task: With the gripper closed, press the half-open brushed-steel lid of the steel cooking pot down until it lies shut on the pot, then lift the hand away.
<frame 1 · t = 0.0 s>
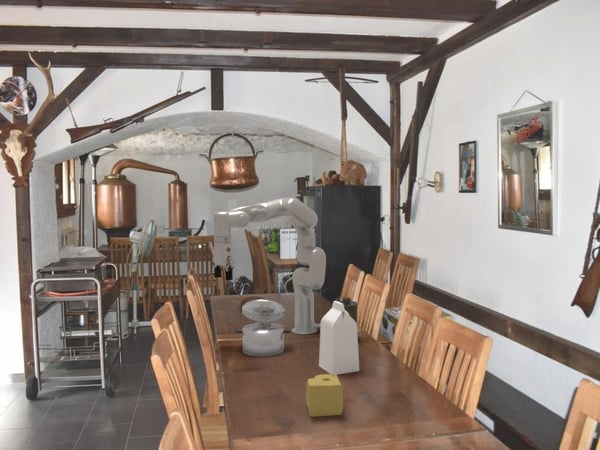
hand: (223, 278, 236), 31 cm above the table, tool pointing down, fingers open, 9 cm apart
bread: (256, 313, 310), on the table
pot: (263, 350, 236), on the table
canister: (346, 340, 250), on the table
lid: (263, 309, 238), point 17 cm above the table, hinge at 40.0°
cheese: (324, 410, 171), on the table
milk: (338, 368, 210), on the table
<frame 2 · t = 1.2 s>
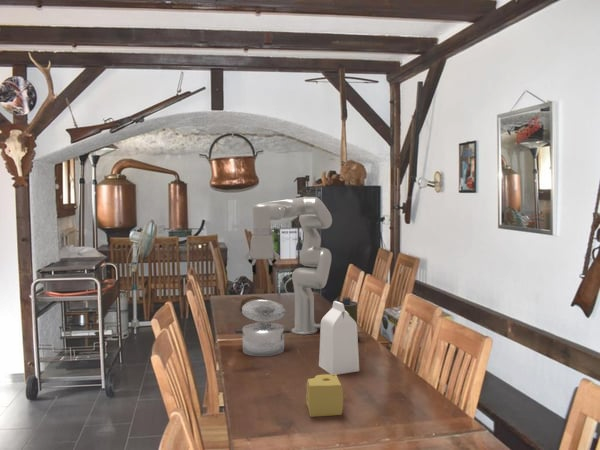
hand: (262, 273, 234), 34 cm above the table, tool pointing down, fingers open, 5 cm apart
nothing on the table moved.
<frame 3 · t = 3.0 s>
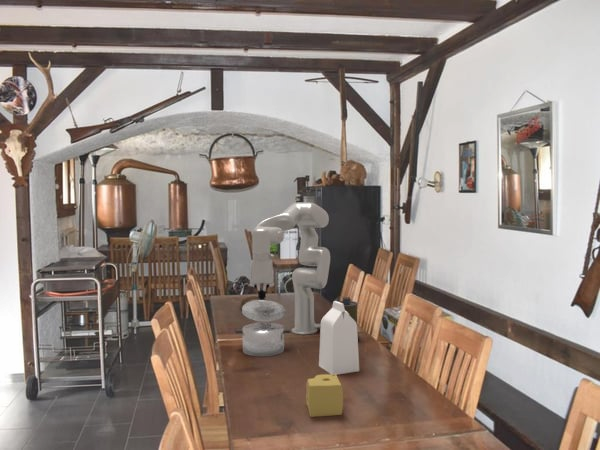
hand: (262, 299, 231), 23 cm above the table, tool pointing down, fingers closed
lid: (263, 309, 238), point 17 cm above the table, hinge at 40.0°, touching gripper
everything else where it was.
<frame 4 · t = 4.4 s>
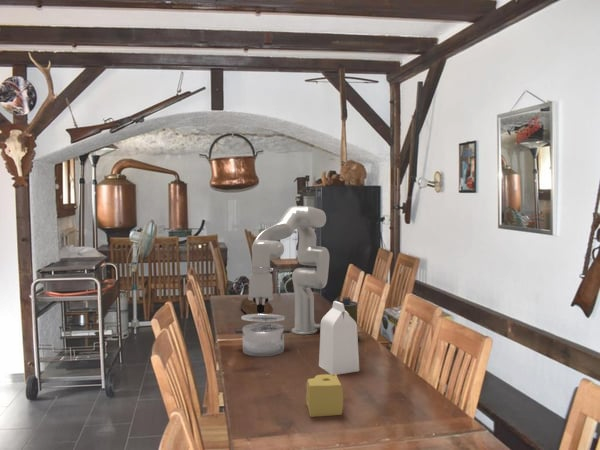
hand: (260, 313, 229), 17 cm above the table, tool pointing down, fingers closed
lid: (263, 315, 236), point 15 cm above the table, hinge at 20.6°, touching gripper
everything else where it was.
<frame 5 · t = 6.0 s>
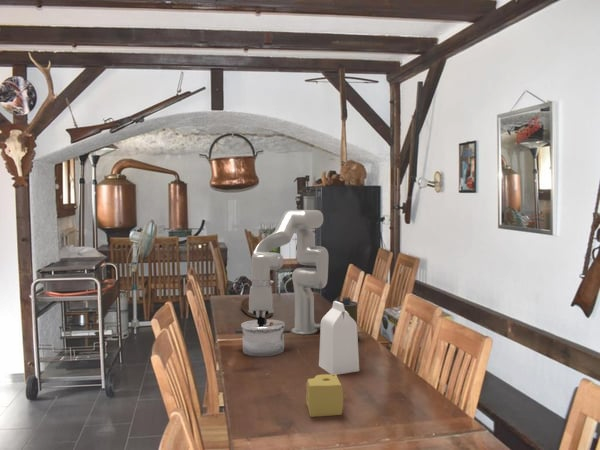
hand: (261, 326, 229), 12 cm above the table, tool pointing down, fingers closed
lid: (263, 322, 235), point 12 cm above the table, hinge at 2.9°, touching gripper
everything else where it was.
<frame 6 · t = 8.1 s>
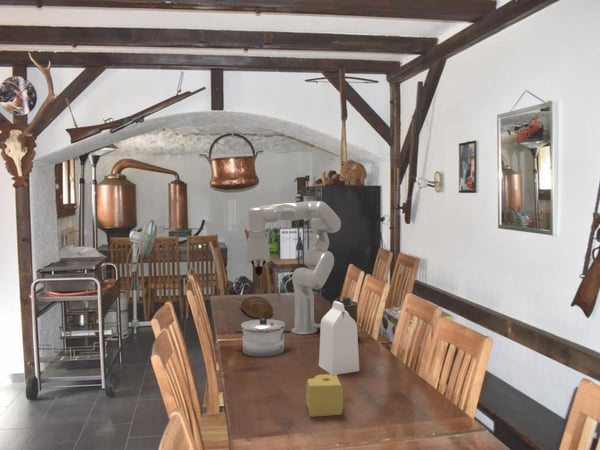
hand: (259, 275, 244), 31 cm above the table, tool pointing down, fingers closed
lid: (263, 322, 235), point 12 cm above the table, hinge at 2.7°
everything else where it was.
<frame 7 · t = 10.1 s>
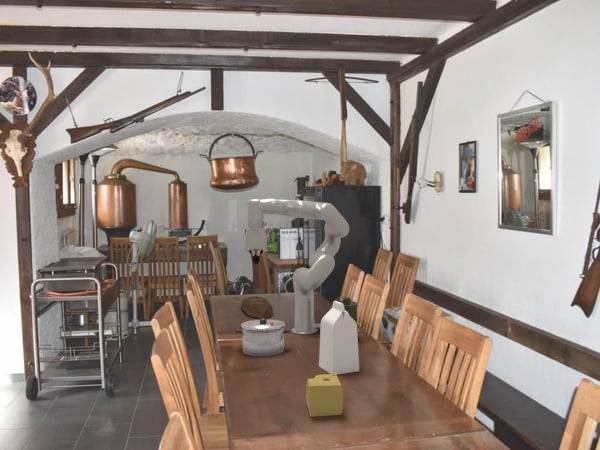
hand: (256, 263, 254), 35 cm above the table, tool pointing down, fingers closed
nothing on the table moved.
at the end: lid at +3° (first picture: +40°) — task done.
